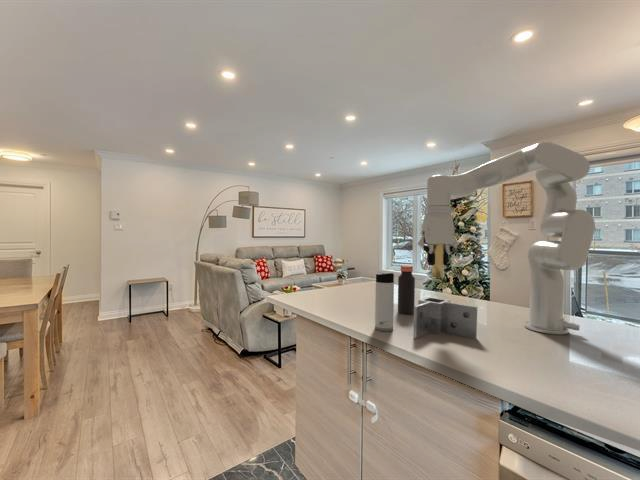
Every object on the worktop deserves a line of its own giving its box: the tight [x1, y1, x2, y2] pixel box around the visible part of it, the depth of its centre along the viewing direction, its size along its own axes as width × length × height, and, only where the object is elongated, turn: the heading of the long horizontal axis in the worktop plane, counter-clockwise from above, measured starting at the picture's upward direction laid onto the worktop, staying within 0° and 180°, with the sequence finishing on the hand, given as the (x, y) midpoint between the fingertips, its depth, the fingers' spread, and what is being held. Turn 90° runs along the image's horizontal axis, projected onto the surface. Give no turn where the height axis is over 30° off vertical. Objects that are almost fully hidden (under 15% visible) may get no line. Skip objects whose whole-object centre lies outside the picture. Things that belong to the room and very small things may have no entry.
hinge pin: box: [430, 243, 445, 279], centre depth 105 cm, size 4×4×12 cm
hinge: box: [412, 296, 478, 340], centre depth 100 cm, size 18×18×10 cm
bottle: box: [397, 264, 416, 316], centre depth 129 cm, size 7×7×20 cm
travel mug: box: [374, 272, 395, 333], centre depth 106 cm, size 6×7×20 cm
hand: (437, 264), depth 105 cm, fingers closed on hinge pin, 4 cm apart
